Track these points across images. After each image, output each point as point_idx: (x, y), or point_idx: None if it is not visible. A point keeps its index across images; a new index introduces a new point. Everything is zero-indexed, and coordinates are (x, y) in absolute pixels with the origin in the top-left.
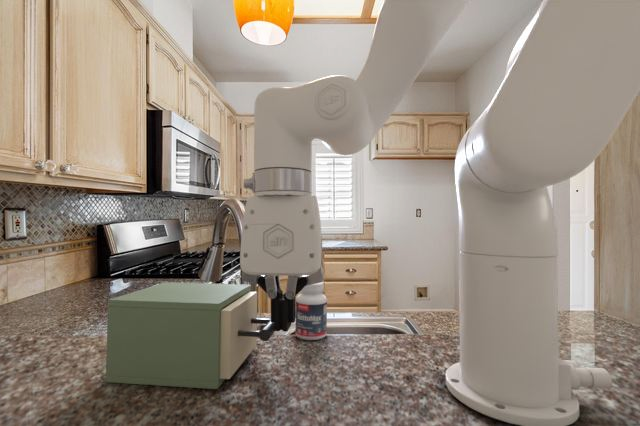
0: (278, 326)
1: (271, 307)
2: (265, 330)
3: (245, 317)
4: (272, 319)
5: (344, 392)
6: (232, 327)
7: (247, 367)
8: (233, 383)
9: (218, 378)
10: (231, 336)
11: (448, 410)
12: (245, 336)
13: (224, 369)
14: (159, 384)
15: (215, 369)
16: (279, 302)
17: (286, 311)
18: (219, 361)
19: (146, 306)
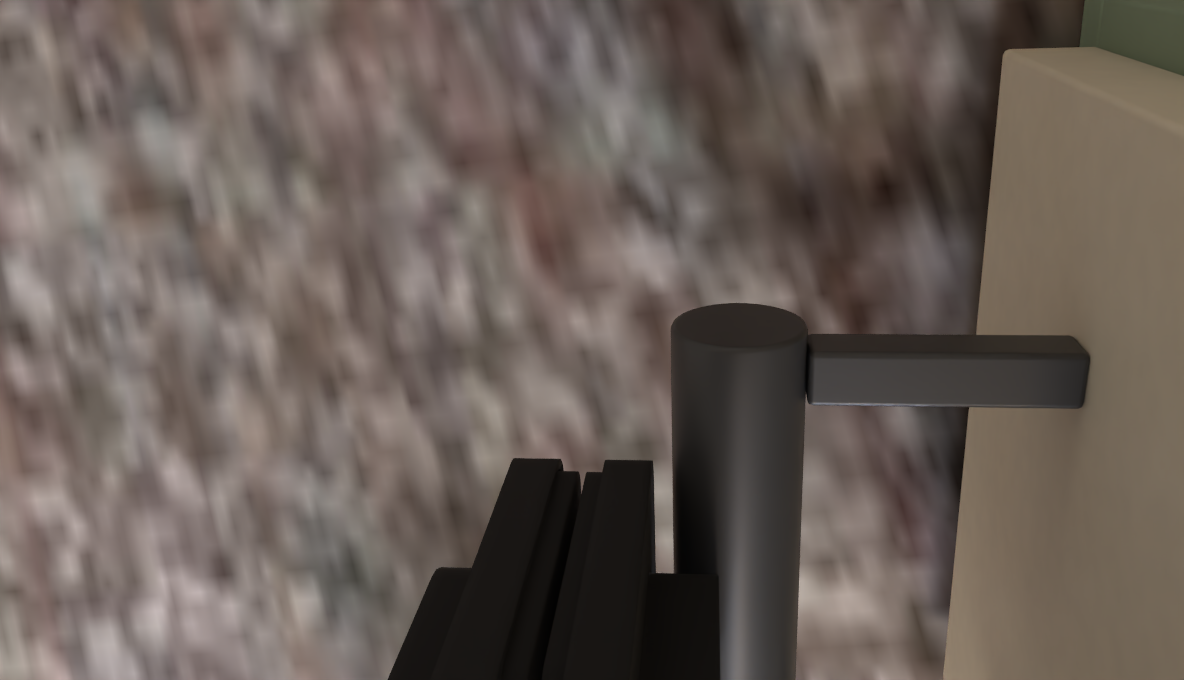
0: (603, 475)
1: (710, 677)
2: (726, 344)
3: (1084, 651)
4: (699, 582)
5: (104, 105)
6: (1158, 198)
7: None
8: (972, 119)
9: (1107, 28)
10: (1123, 143)
11: None
12: (1018, 528)
13: (1077, 56)
14: None
15: (1164, 3)
16: (555, 666)
17: (470, 578)
18: (1158, 56)
19: None
